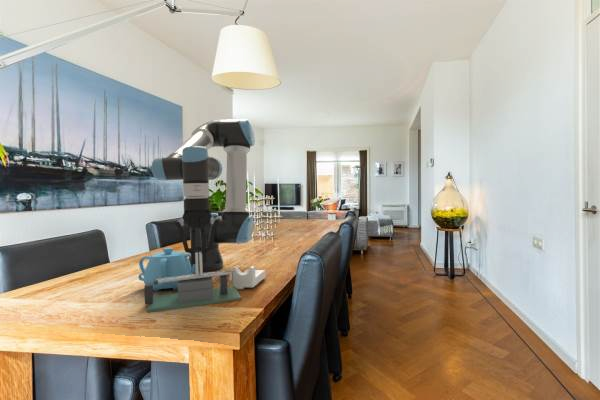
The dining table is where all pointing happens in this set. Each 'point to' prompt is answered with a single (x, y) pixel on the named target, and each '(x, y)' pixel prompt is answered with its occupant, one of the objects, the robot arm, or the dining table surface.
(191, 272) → the decorative pot
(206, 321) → the dining table surface
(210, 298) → the heatsink board
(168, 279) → the strap
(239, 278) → the bracket
